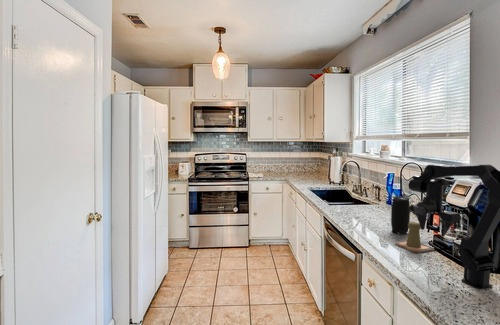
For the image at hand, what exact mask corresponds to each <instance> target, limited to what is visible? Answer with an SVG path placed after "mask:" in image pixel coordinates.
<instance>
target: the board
mask: <svg viewBox="0 0 500 325" xmlns="http://www.w3.org/2000/svg"><path fill="white" fill-rule="evenodd" d="M431 240H432V239H430V238H420V243H421V247H420V248H413V247H409V246H407V245H406V243H407V240H405V241H400V242H395V243H394V245H395V246H397V247H400V248H402V249H404V250H407V251H409V252H410V253H411V252H412V253H413V254H417V255H418V254H423V253H428V252H435V251H434V250H435V249H434V247H432V246H430V245H429V244H428V242H429V241H431Z"/></svg>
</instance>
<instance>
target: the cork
mask: <svg viewBox="0 0 500 325" xmlns="http://www.w3.org/2000/svg"><path fill="white" fill-rule="evenodd" d="M420 230H421V227H420V224H419V222H414V221H412V222H411V221H409V224H408V232H407V234H408V235H407V238H406V239H407V240H406V241H407V243H406V245H407V246H409V247H413V248H420V247H421V243H420V239H421V234H420Z"/></svg>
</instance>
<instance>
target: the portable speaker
mask: <svg viewBox="0 0 500 325" xmlns="http://www.w3.org/2000/svg"><path fill="white" fill-rule="evenodd" d="M410 206H411V204H410V197H407V196H406V197H404V196H401V195H400V196H399V195H395V196H393V198H392V203H391V210H390V211H391V212H390V213H391V215H390V217H391V218H390V227H391V232H393V233H397V234H399V235H407V234H408V233H409V228H408V224H409V223H410V222H411V221H410V220H411V218H410V216H411V211H410Z"/></svg>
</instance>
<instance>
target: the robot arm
mask: <svg viewBox="0 0 500 325" xmlns="http://www.w3.org/2000/svg"><path fill="white" fill-rule="evenodd" d="M463 176H464V177H467V176H468V177H472V176H473V177H479V179H480V181H481V182H482V185H484V186H485V187H486V189H488V192H487V200H488V202H487V204H486V206H485V209H484V211H483V213H482V215H481V217H480V219H479V221H478V222H477V225H476V227H475V229H474V231H473V232H472V235H471V236H469V237H463V238H461V240H460V244H458V245H457V248H458V249H457V254H458V255H459V257H460V261H461V265H462V267H463V279H461V282H463V283H465V284H467V285H469V286H470V287H473V288H475V289H478V290H484V289H489V288H491V287H493V285H492V284H491V283H490V280H491V279H490V277H491V276H490V275H491V270H490V269H493V268H494V266H496V265H495V264H496V263H495V261H494V260H493V259H492V257H491V256H490V255H489V251H490V245H489V241H490V239H491V237H492V236H493V234H494V231H495V230H496V229H497V226H498V224H499V223H500V170H499V169H497V168H496V167H495V166H494V165H492V164H487V163H486V164H477V165H460V166H459V165H457V166H453V165H448V164H442V163H439V164H438V163H436V164H435V163H434V164H427V165H426V166H425V168H424V170H423V171H422V173H421V174H420V175H413V176H412V178H411V179H410V180H409V182H408V184H407V185H408V189H409V190H410V191H411V192H417V193H421V194H425V196H423V198H422V201H420V202H418V203H412V204H410V212H411V214H413V215H414V216H416V218H417V220H418V223H419V224H420V227H421V228H420V230H422V231H423V230H425V227H426V223H427V219H428V218H427V217H428V214H431V215H435V216H438V217H440V219H439V223H440V224H441V225H440V226H441V228H440V234H441V237H445V236H446V234H447V233H448V231H449V230H450V228H451V227H452V226H453V224H454V223H457V222H460V221H462V220H461V218H462V216H461V214H460V213H459V212H454V211H450V210H449V211H445V208H444V207H443V202H445V201H446V198H445V197H443V196H444V195H443V194H444V186H449V185H450V184H449V183H448V181H446V180H445V178H451V177H463Z"/></svg>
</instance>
